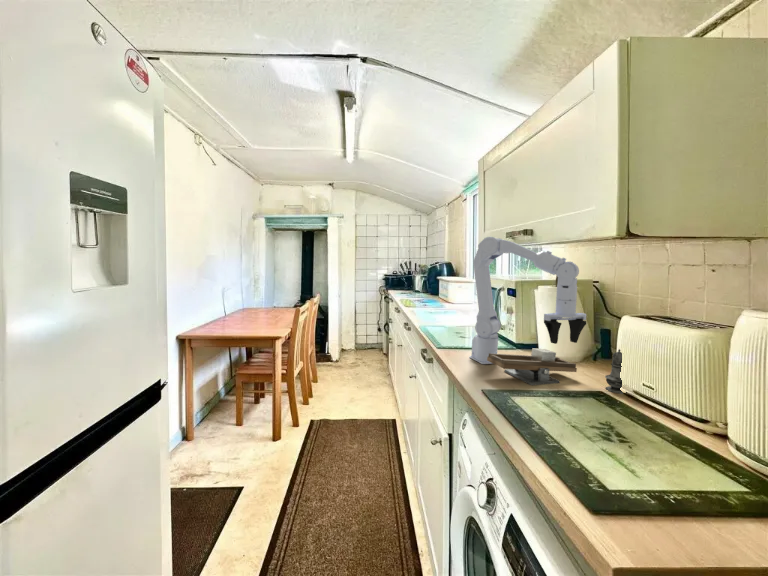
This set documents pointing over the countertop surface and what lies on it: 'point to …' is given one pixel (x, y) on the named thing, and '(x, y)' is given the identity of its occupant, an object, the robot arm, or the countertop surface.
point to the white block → (542, 355)
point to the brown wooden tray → (529, 363)
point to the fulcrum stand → (533, 376)
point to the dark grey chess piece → (615, 374)
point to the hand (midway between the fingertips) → (563, 342)
